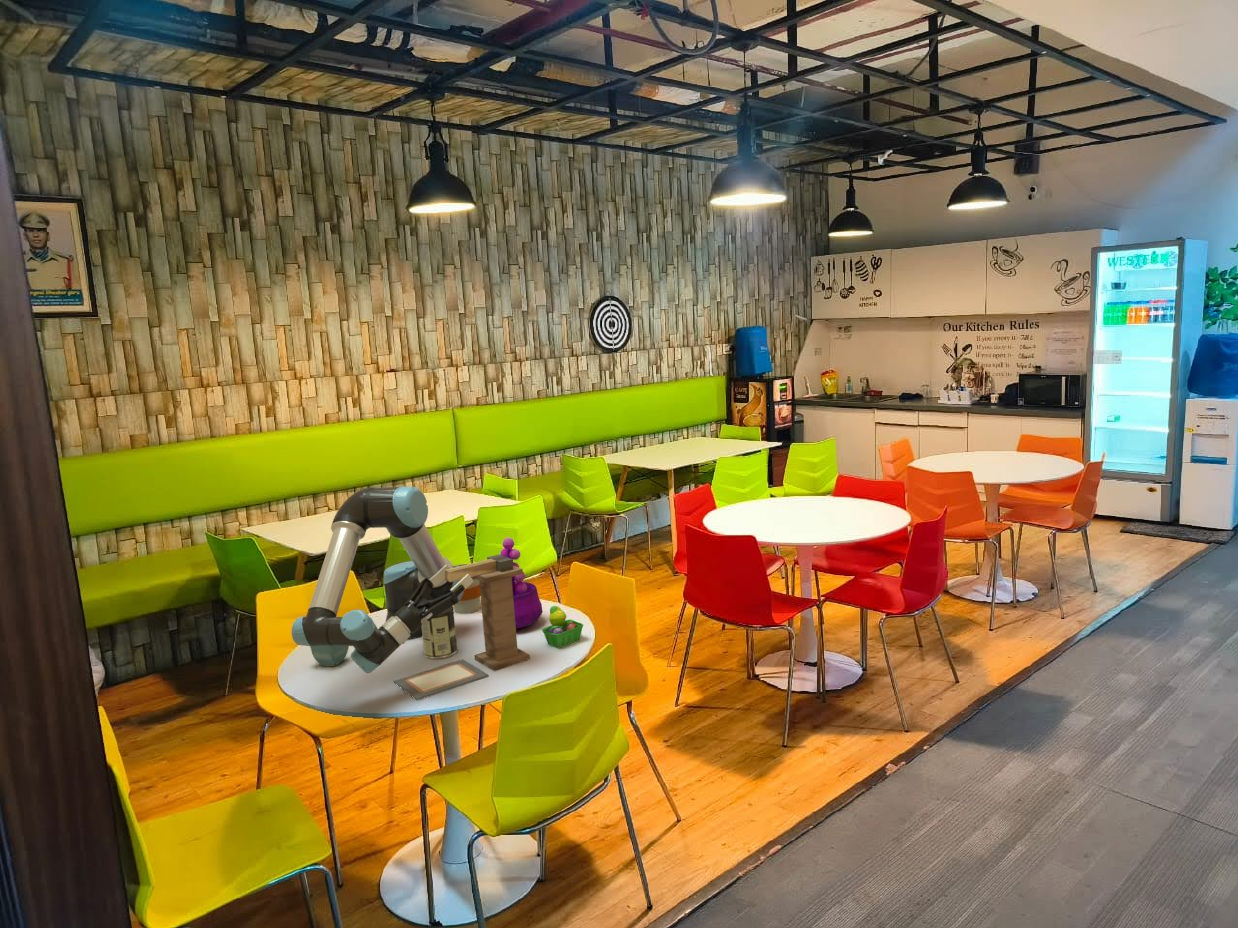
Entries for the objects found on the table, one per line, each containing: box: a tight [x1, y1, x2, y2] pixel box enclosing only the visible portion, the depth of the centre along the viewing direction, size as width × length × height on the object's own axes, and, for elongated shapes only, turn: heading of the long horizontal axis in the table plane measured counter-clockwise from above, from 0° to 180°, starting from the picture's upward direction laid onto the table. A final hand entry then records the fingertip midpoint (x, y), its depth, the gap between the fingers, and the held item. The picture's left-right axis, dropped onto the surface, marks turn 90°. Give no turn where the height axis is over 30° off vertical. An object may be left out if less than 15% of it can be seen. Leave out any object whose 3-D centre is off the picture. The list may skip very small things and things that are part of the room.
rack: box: [473, 566, 531, 672], centre depth 251 cm, size 12×12×28 cm
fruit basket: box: [541, 605, 584, 649], centre depth 264 cm, size 11×9×11 cm
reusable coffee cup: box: [453, 563, 481, 615], centre depth 300 cm, size 13×12×15 cm
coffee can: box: [421, 606, 458, 660], centre depth 261 cm, size 10×10×14 cm
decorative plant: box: [499, 537, 543, 629], centre depth 279 cm, size 19×18×30 cm
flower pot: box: [309, 646, 350, 667], centre depth 258 cm, size 9×9×9 cm
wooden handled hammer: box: [445, 553, 514, 582], centre depth 245 cm, size 8×19×3 cm, turn 127°
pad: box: [392, 658, 490, 701], centre depth 241 cm, size 16×22×1 cm
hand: (459, 572), depth 241 cm, fingers open, 13 cm apart
